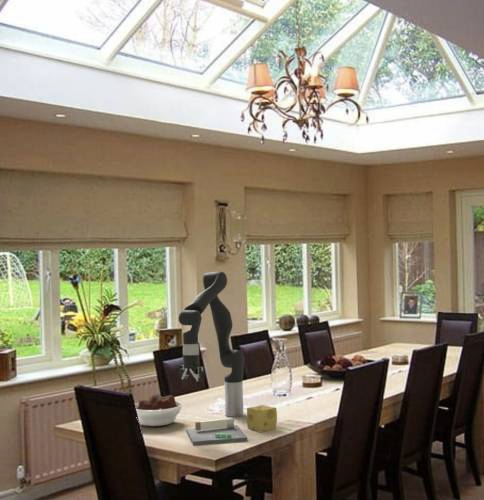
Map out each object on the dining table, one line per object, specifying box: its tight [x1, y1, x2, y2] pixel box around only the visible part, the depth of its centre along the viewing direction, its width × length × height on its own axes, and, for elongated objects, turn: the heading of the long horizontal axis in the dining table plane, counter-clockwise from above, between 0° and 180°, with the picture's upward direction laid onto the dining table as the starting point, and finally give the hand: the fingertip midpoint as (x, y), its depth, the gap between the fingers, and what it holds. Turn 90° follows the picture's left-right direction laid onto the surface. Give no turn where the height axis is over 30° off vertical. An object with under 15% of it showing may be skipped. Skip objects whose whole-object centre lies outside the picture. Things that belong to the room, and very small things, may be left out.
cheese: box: [246, 404, 278, 433], centre depth 337 cm, size 10×11×10 cm
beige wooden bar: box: [194, 417, 235, 431], centre depth 331 cm, size 18×4×4 cm, turn 111°
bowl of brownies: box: [134, 393, 183, 427], centre depth 351 cm, size 25×25×15 cm
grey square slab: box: [185, 424, 249, 446], centre depth 324 cm, size 24×24×3 cm
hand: (191, 388), depth 333 cm, fingers open, 8 cm apart
